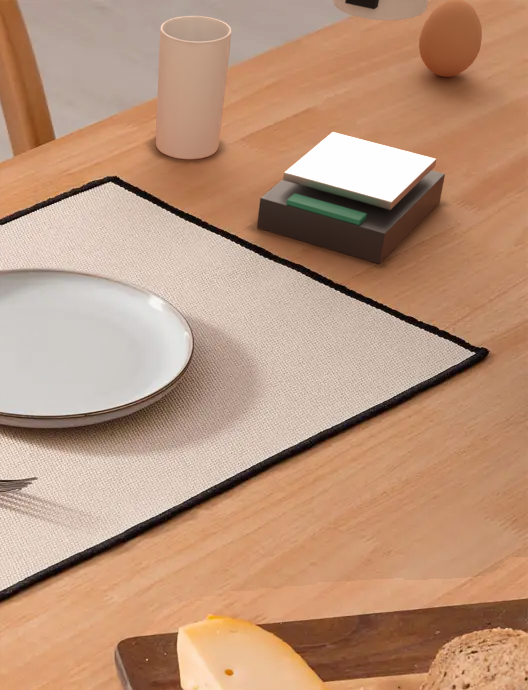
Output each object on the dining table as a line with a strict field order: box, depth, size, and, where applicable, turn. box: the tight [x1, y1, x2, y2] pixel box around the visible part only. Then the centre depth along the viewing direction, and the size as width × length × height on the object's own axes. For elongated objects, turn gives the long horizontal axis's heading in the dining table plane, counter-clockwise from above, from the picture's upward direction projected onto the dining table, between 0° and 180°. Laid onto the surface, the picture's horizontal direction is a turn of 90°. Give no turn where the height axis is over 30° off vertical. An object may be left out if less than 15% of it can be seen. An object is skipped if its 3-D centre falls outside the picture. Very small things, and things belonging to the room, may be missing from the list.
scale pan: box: [282, 131, 437, 210], centre depth 141 cm, size 10×10×1 cm
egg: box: [418, 0, 483, 78], centre depth 166 cm, size 6×6×8 cm
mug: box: [155, 15, 232, 160], centre depth 152 cm, size 10×7×12 cm, turn 163°
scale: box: [256, 169, 446, 265], centre depth 142 cm, size 12×14×4 cm
